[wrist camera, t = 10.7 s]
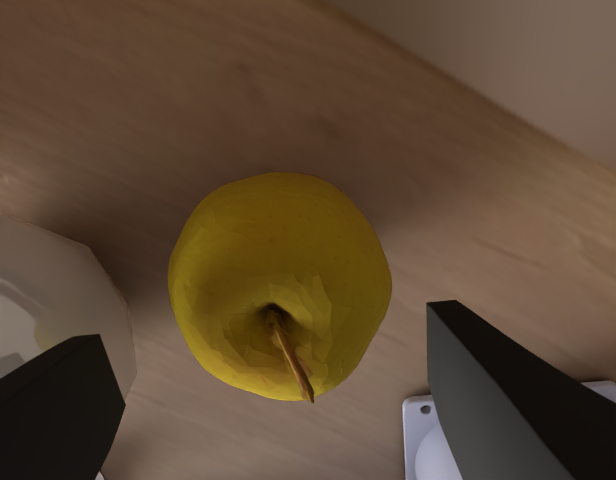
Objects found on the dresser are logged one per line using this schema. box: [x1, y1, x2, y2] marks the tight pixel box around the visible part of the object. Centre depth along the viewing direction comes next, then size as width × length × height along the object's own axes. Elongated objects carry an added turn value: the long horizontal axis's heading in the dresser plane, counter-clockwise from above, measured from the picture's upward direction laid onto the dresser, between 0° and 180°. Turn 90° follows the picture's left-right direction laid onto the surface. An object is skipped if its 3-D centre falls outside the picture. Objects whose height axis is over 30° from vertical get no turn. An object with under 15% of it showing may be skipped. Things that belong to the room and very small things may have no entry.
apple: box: [167, 172, 392, 403], centre depth 13 cm, size 6×6×8 cm
